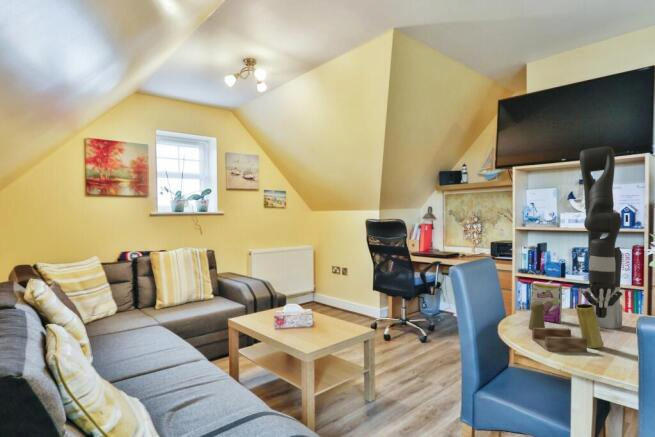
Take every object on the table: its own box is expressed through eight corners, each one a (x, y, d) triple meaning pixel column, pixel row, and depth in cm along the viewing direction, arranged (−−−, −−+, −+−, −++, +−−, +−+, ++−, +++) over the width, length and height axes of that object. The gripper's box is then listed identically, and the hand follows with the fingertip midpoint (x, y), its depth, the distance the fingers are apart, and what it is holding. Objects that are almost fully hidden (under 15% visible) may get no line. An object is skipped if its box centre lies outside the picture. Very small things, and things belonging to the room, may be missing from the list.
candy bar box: (530, 319, 162) (531, 282, 162) (533, 316, 166) (533, 281, 166) (559, 324, 155) (560, 286, 155) (561, 321, 159) (562, 284, 159)
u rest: (568, 340, 136) (568, 328, 136) (586, 352, 125) (587, 339, 125) (532, 339, 137) (532, 327, 137) (547, 350, 126) (547, 338, 126)
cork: (544, 328, 150) (544, 301, 150) (546, 332, 145) (546, 305, 144) (527, 326, 153) (528, 300, 152) (529, 330, 147) (529, 303, 147)
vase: (607, 346, 126) (598, 307, 126) (588, 349, 127) (579, 310, 127) (598, 340, 132) (589, 302, 132) (579, 342, 133) (571, 304, 133)
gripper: (614, 267, 132) (613, 314, 132) (575, 267, 133) (575, 313, 133) (629, 270, 124) (628, 321, 125) (589, 270, 125) (588, 320, 126)
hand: (600, 317), depth 129 cm, fingers closed
